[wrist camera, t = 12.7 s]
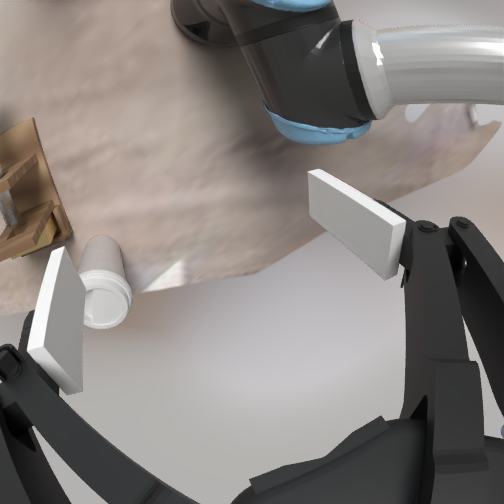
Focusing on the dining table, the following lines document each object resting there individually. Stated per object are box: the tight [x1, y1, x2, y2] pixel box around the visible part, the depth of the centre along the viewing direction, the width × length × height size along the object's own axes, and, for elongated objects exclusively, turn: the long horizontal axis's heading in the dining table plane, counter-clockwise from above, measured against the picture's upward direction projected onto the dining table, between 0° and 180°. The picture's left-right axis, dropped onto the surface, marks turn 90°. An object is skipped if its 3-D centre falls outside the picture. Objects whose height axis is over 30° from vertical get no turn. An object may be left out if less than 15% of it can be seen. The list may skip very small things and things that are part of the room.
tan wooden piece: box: [11, 210, 58, 259], centre depth 38 cm, size 2×7×7 cm, turn 98°
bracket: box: [0, 118, 72, 262], centre depth 33 cm, size 20×10×14 cm, turn 8°
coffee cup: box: [77, 235, 133, 329], centre depth 44 cm, size 10×10×15 cm
